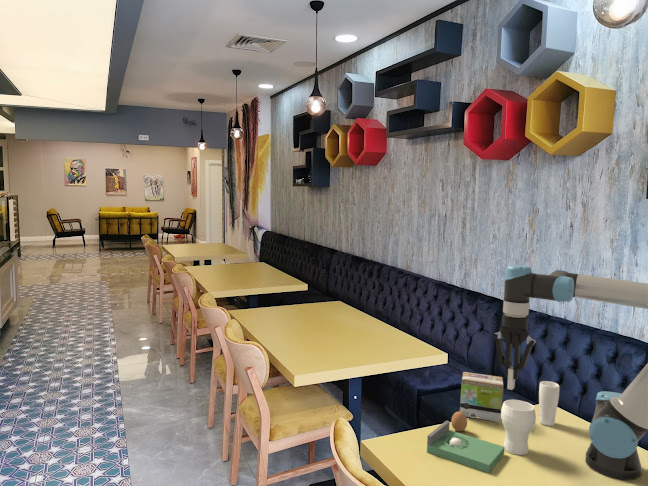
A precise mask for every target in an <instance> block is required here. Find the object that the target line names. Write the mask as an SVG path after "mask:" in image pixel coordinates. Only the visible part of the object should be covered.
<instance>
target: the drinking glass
mask: <svg viewBox="0 0 648 486" xmlns="http://www.w3.org/2000/svg"><path fill="white" fill-rule="evenodd" d="M538 386H539V387H538V388H539V390H538V405H539V406H538V408H539V409H538V411H539V412H538V413H539V415H538V416H539V418H538V421H539V423H540V425H541V424H542V425H543V426H548V427H551V426H552V427H553V426H554V425H555V423H556V415H557V408H558V404H559V398H560V385H559V384H558V383H556V382H554V381H549V380H542V381H540V382H539V385H538Z"/></svg>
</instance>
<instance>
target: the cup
mask: <svg viewBox="0 0 648 486" xmlns="http://www.w3.org/2000/svg"><path fill="white" fill-rule="evenodd" d="M536 417H537V415H536V409H535V406H534V405H533V404H531V403H530V402H527V401H524V400H519V399H506V400H505V401H503V402H502V409H501V422H502V425H503V428H504V430H505V438H504V443H503V447H505V449H504V451H506V452H508V453H510V454H514V455H517V456H525V455H528V454H529V441H528V440H529V436H530V433H531V432H532V430H533V429H534V427H535V424H536V420H537V419H536Z"/></svg>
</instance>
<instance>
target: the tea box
mask: <svg viewBox="0 0 648 486" xmlns="http://www.w3.org/2000/svg"><path fill="white" fill-rule="evenodd" d="M503 378H504V377H502V376H496V375H490V374H482V373H474V372H468V371H463V372H462V378H461V389H460V402H459V404H460V405H459V411H461V412H463V413H464V414H465V416H466V418H473V419H478V420H483V421H488V420H489V422H494V421H496V422H495V423H499V422H500V423H501V422H502V419H501V409H502V406H503V397H504V380H503ZM477 417H479V418H477Z"/></svg>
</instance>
